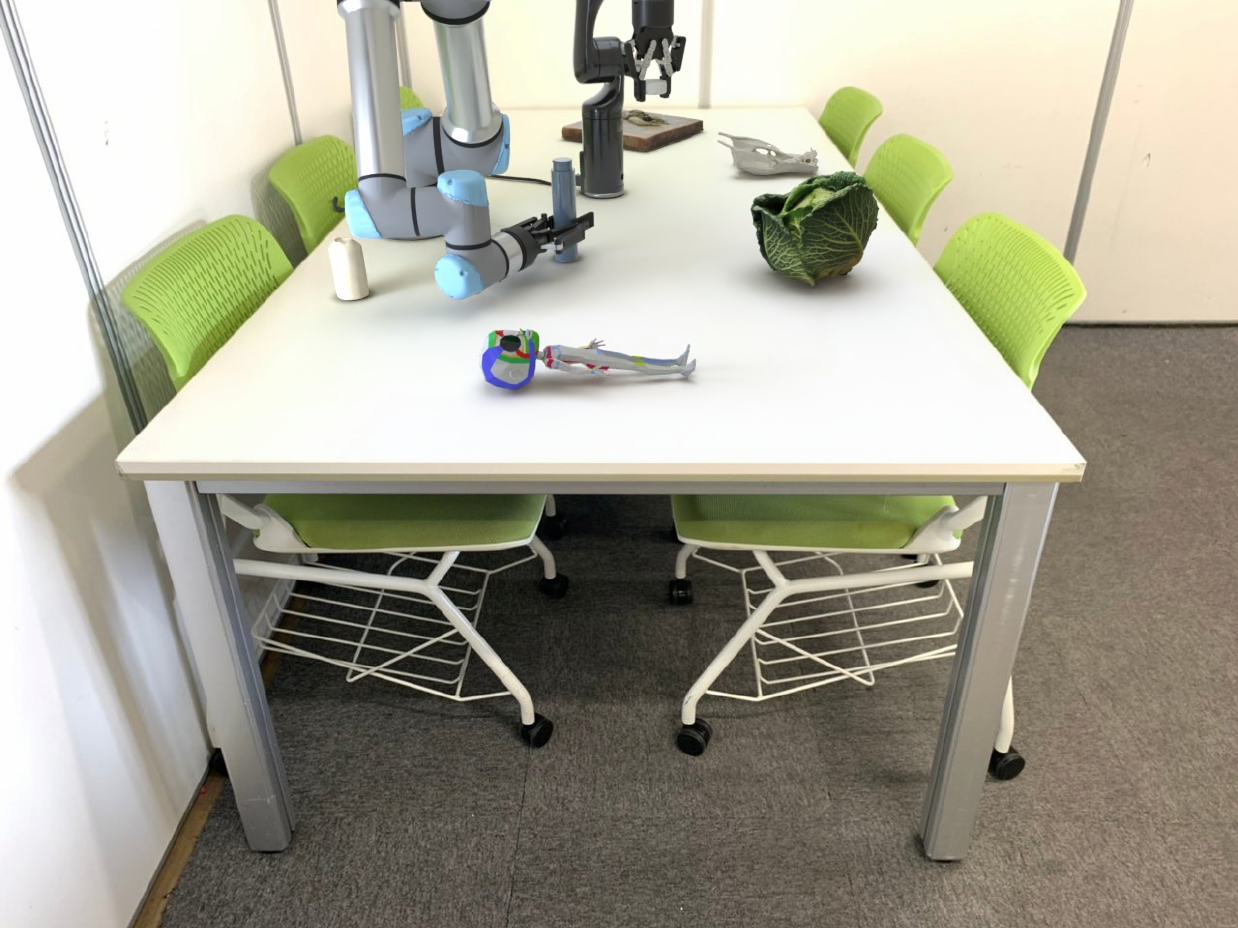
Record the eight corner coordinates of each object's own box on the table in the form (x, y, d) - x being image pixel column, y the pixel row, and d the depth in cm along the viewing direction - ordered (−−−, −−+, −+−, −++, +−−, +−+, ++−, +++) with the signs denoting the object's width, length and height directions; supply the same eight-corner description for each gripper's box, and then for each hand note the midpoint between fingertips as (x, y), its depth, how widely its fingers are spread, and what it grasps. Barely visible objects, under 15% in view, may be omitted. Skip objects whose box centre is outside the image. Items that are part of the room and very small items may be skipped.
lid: (640, 95, 163) (640, 84, 162) (637, 90, 168) (637, 79, 166) (668, 94, 163) (668, 83, 162) (665, 89, 168) (665, 78, 167)
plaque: (647, 125, 237) (559, 112, 252) (647, 153, 241) (560, 139, 256) (706, 107, 258) (622, 97, 273) (705, 133, 262) (622, 121, 277)
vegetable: (776, 302, 169) (727, 209, 161) (858, 246, 170) (814, 150, 162) (827, 317, 151) (775, 212, 143) (918, 253, 152) (872, 146, 144)
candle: (375, 290, 158) (366, 235, 153) (358, 302, 154) (348, 245, 149) (348, 287, 160) (338, 232, 155) (330, 298, 156) (319, 242, 150)
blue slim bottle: (569, 253, 174) (564, 155, 164) (583, 258, 171) (579, 159, 162) (550, 258, 172) (545, 159, 162) (564, 264, 169) (559, 163, 159)
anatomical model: (719, 128, 226) (819, 127, 222) (718, 166, 231) (817, 165, 227) (715, 142, 213) (822, 141, 210) (715, 181, 218) (819, 181, 215)
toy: (701, 358, 123) (480, 340, 118) (690, 412, 127) (477, 397, 122) (689, 328, 131) (482, 310, 127) (679, 379, 136) (479, 364, 131)
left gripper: (470, 265, 161) (544, 229, 178) (550, 282, 153) (620, 243, 170) (465, 224, 157) (542, 191, 174) (547, 239, 149) (619, 203, 166)
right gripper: (672, -8, 163) (670, 92, 172) (607, -2, 156) (609, 101, 165) (698, -5, 158) (695, 98, 167) (632, 1, 151) (632, 107, 160)
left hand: (580, 217), depth 172 cm, fingers closed on blue slim bottle, 4 cm apart
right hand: (652, 99), depth 166 cm, fingers closed on lid, 5 cm apart
